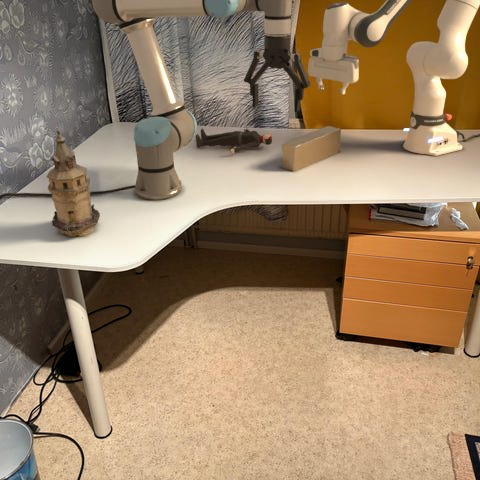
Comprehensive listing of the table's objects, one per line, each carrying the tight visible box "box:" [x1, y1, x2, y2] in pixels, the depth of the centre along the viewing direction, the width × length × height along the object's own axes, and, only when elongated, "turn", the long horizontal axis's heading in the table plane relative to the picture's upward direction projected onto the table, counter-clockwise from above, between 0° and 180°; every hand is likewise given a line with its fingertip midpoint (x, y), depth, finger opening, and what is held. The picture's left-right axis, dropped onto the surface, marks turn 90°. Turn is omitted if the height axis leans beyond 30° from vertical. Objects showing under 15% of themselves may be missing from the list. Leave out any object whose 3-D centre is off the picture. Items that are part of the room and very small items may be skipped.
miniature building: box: [46, 129, 101, 237], centre depth 148 cm, size 13×14×30 cm
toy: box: [195, 127, 273, 155], centre depth 214 cm, size 26×6×30 cm
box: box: [281, 125, 342, 172], centre depth 199 cm, size 27×6×9 cm, turn 135°
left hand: (276, 108), depth 163 cm, fingers open, 13 cm apart
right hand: (331, 91), depth 197 cm, fingers open, 8 cm apart
